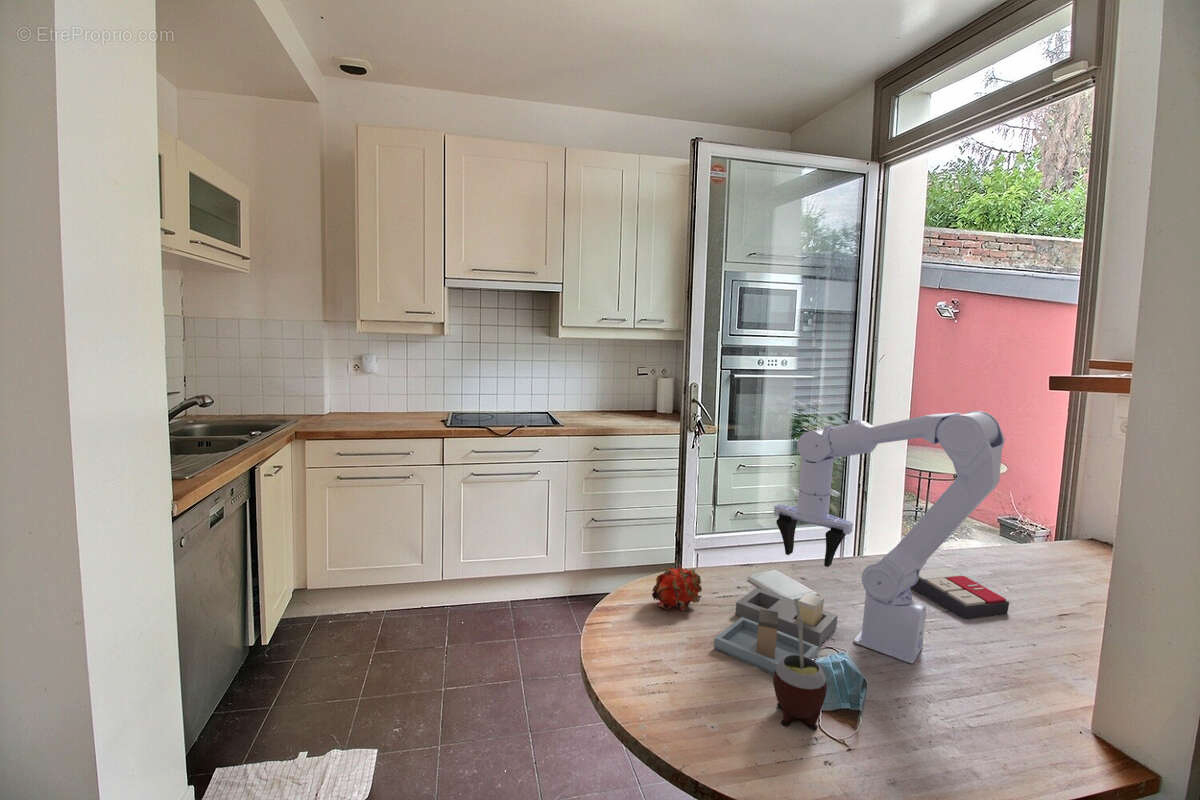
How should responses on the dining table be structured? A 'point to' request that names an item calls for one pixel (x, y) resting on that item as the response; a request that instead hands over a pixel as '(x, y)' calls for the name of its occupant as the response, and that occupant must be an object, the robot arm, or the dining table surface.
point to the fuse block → (785, 615)
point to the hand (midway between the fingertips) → (808, 559)
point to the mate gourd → (799, 685)
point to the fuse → (811, 609)
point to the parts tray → (743, 645)
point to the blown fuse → (767, 633)
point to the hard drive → (780, 584)
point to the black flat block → (959, 594)
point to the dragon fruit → (677, 588)
